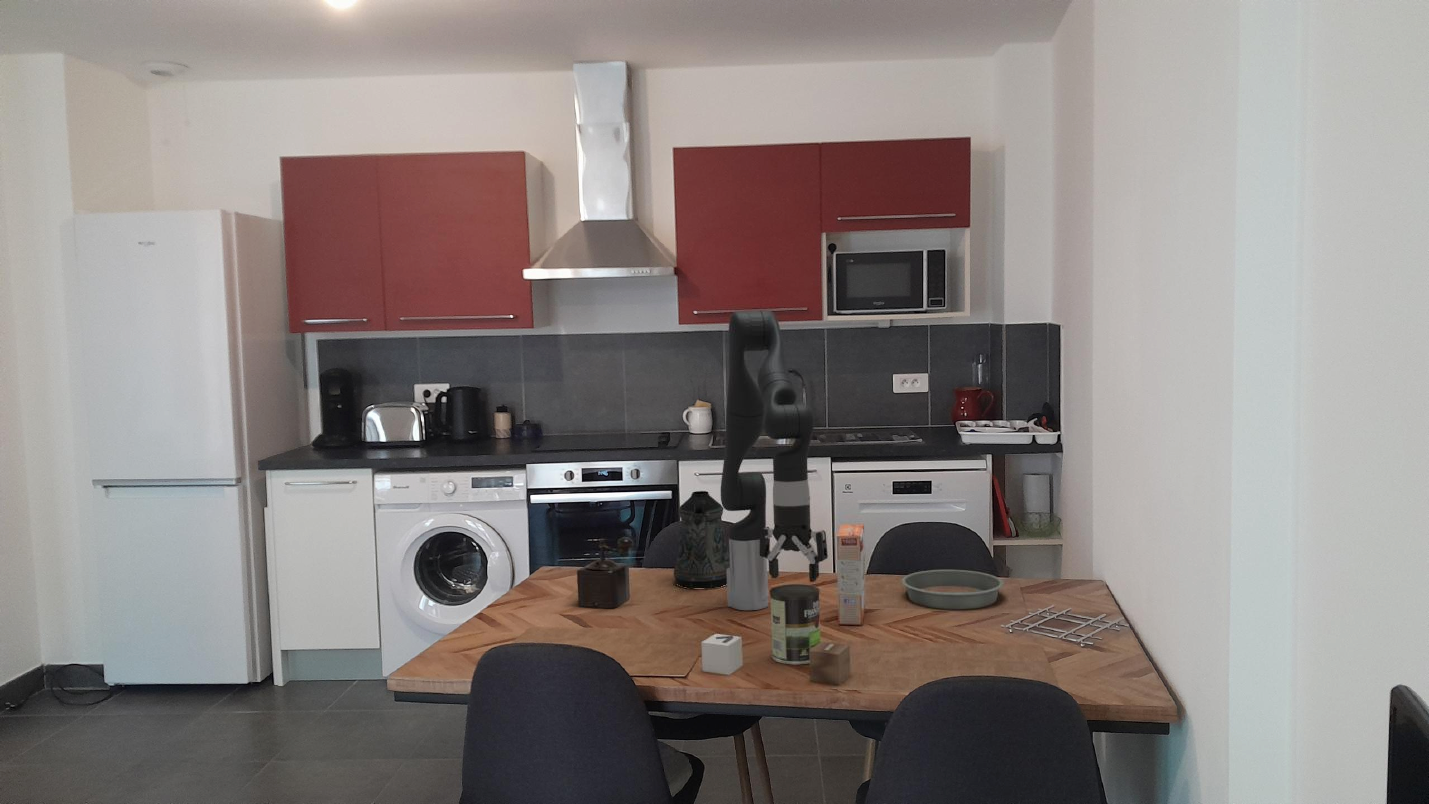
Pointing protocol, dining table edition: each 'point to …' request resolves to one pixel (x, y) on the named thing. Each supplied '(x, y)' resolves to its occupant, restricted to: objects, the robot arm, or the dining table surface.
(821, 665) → the walnut block
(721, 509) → the dark ornate jug
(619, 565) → the manual coffee grinder
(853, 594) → the cracker box
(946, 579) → the cake pan
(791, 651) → the coffee can
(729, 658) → the offwhite block
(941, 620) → the dining table surface
